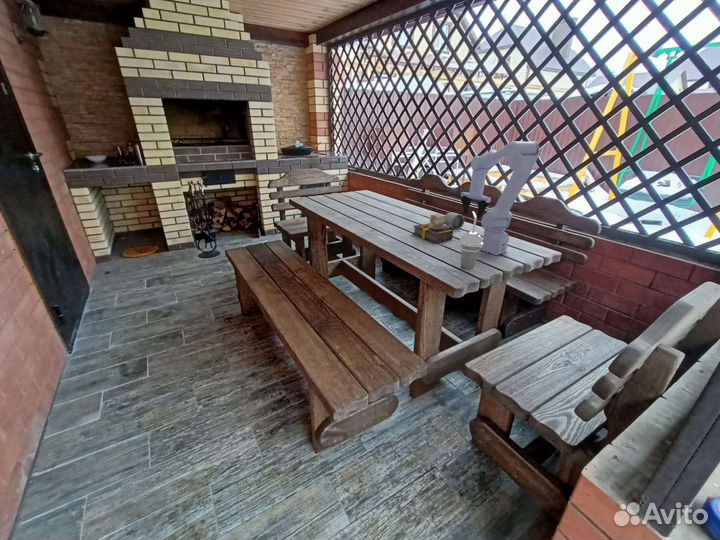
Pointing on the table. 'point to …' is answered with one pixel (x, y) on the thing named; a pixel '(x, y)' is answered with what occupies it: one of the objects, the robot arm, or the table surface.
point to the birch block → (437, 221)
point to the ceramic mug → (453, 220)
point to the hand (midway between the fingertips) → (472, 215)
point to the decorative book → (433, 233)
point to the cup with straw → (470, 247)
